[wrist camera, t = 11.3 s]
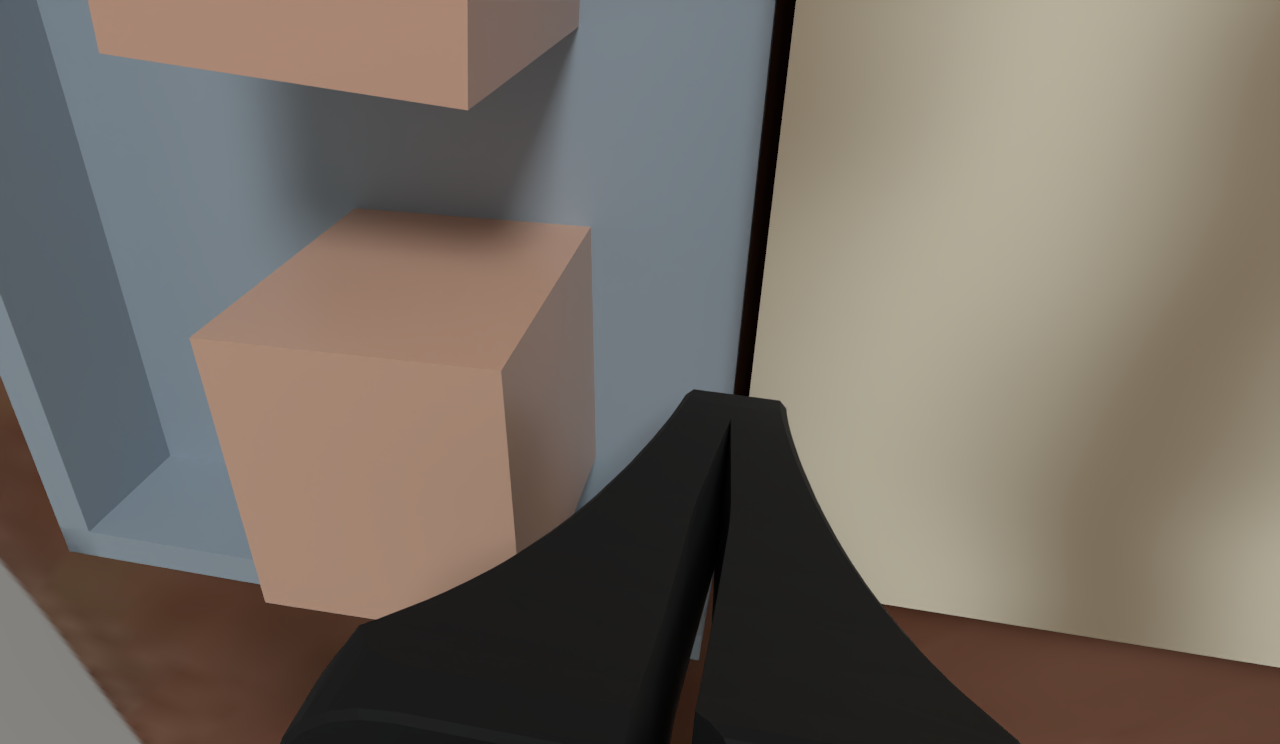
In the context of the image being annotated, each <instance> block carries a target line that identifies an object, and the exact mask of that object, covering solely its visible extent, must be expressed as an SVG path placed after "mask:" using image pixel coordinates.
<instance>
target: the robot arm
mask: <svg viewBox="0 0 1280 744" xmlns="http://www.w3.org/2000/svg"><path fill="white" fill-rule="evenodd" d="M714 568H715V571H714ZM713 572H714V592H713V613H712V628H711V633H710V639H709V644H708V650H707V655H706V660H705V665H704V670H703V675H702V681H701V686H700V691H699V696H698V701H697V706H696V711H695V719H694V729H693V738H692V744H1020V743H1019V741H1018V740H1017V739H1015V738H1014V737H1013V736H1012V735H1011V734H1010V733H1008V732H1007V731H1006V730H1005V729H1004V728H1003V727H1002V726H1000V725H999V724H998V723H997V722H996V721H995V720H993V719H992V718H991V717H990V716H989V715H988V714H986V713H985V712H984V711H983V710H982V709H981V708H979V707H978V706H977V705H976V704H975V703H974V702H972V701H971V700H970V699H969V698H968V697H967V696H966V695H964V694H963V693H962V692H961V691H960V690H959V689H958V688H957V687H955V686H954V685H953V684H952V683H951V682H950V681H949V680H948V679H947V678H946V677H945V676H944V675H943V674H942V673H941V672H940V671H939V670H938V669H937V668H936V667H935V666H934V665H933V664H932V663H931V662H930V661H929V660H928V659H927V658H926V657H925V656H924V655H923V653H922V652H921V651H920V650H919V649H918V648H917V646H916V645H915V644H914V643H913V642H912V641H911V639H910V638H909V637H908V636H907V635H906V634H905V633H904V631H903V630H902V629H901V628H900V627H899V626H898V624H897V623H896V622H895V621H894V620H893V619H892V617H891V616H890V615H889V614H888V613H887V611H886V610H885V609H884V607H883V606H882V605H881V603H880V602H879V601H878V599H877V598H876V597H875V595H874V594H873V593H872V591H871V590H870V588H869V587H868V586H867V584H866V583H865V581H864V580H863V578H862V577H861V576H860V574H859V573H858V571H857V570H856V568H855V567H854V565H853V564H852V562H851V561H850V559H849V557H848V556H847V554H846V552H845V551H844V549H843V547H842V546H841V544H840V542H839V541H838V539H837V537H836V535H835V534H834V532H833V530H832V528H831V526H830V524H829V522H828V521H827V519H826V517H825V515H824V513H823V511H822V509H821V507H820V505H819V503H818V501H817V499H816V497H815V494H814V492H813V490H812V488H811V485H810V483H809V481H808V478H807V476H806V474H805V472H804V469H803V467H802V464H801V461H800V459H799V456H798V453H797V450H796V447H795V444H794V441H793V438H792V435H791V431H790V427H789V423H788V418H787V409H786V407H785V406H784V405H783V404H782V403H781V401H780V400H772V399H764V398H757V397H749V396H742V395H734V394H726V393H719V392H711V391H703V390H696V389H693V390H692V391H690V392H689V393H687V394H686V395H685V396H684V398H683V399H682V401H681V403H680V404H679V405H678V407H677V408H676V410H675V411H674V412H673V414H672V415H671V416H670V418H669V419H668V420H667V422H666V423H665V424H664V425H663V426H662V428H661V429H660V430H659V431H658V432H657V434H656V435H655V436H654V437H653V438H652V439H651V441H650V442H649V443H648V444H647V445H646V446H645V447H644V448H643V449H642V450H641V451H640V453H639V454H638V455H637V456H636V457H635V458H634V459H633V460H632V461H631V462H630V463H629V464H628V465H627V466H626V467H625V468H624V469H623V470H622V471H621V472H620V473H619V474H618V475H617V476H616V477H615V478H614V479H613V480H612V481H611V482H610V483H608V484H607V485H606V486H605V487H604V488H603V489H602V490H601V491H600V492H599V493H598V494H597V495H596V496H595V497H593V498H592V499H591V500H590V501H589V502H588V503H586V504H585V505H584V506H583V507H582V508H580V509H579V510H578V511H577V512H575V513H574V514H573V515H572V516H570V517H569V518H568V519H566V520H565V521H564V522H562V523H561V524H560V525H558V526H557V527H556V528H554V529H553V530H552V531H550V532H549V533H548V534H546V535H545V536H543V537H542V538H540V539H539V540H537V541H536V542H534V543H533V544H531V545H530V546H528V547H526V548H525V549H523V550H522V551H520V552H519V553H517V554H516V555H514V556H513V557H511V558H509V559H508V560H506V561H504V562H503V563H501V564H499V565H498V566H496V567H494V568H492V569H490V570H488V571H486V572H484V573H482V574H481V575H479V576H477V577H475V578H473V579H471V580H469V581H467V582H465V583H463V584H460V585H458V586H456V587H454V588H452V589H450V590H448V591H446V592H444V593H441V594H439V595H437V596H434V597H432V598H430V599H428V600H425V601H423V602H420V603H417V604H415V605H412V606H410V607H407V608H405V609H402V610H399V611H397V612H394V613H392V614H389V615H386V616H384V617H381V618H379V619H376V620H373V621H370V622H368V623H365V624H362V625H360V626H359V627H358V628H357V629H356V630H355V632H354V633H353V634H352V636H351V637H350V638H349V640H348V641H347V642H346V644H345V645H344V646H343V647H342V648H341V650H340V651H339V652H338V653H337V654H336V656H335V657H334V658H333V660H332V661H331V662H330V664H329V665H328V666H327V668H326V669H325V670H324V672H323V673H322V674H321V676H320V677H319V679H318V680H317V682H316V684H315V685H314V687H313V689H312V690H311V692H310V693H309V695H308V697H307V698H306V700H305V702H304V703H303V705H302V706H301V708H300V710H299V711H298V713H297V715H296V716H295V718H294V720H293V721H292V723H291V724H290V726H289V728H288V729H287V731H286V733H285V734H284V736H283V738H282V740H281V743H280V744H670V739H671V733H672V728H673V723H674V719H675V714H676V710H677V705H678V701H679V697H680V693H681V689H682V686H683V682H684V678H685V675H686V671H687V668H688V664H689V660H690V657H691V653H692V649H693V646H694V642H695V638H696V635H697V631H698V627H699V624H700V620H701V617H702V613H703V609H704V605H705V602H706V598H707V594H708V591H709V587H710V583H711V580H712V576H713Z"/></svg>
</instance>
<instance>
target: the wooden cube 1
mask: <svg viewBox="0 0 1280 744" xmlns="http://www.w3.org/2000/svg"><path fill="white" fill-rule="evenodd" d="M88 4H89V8H90V13H91V18H92V22H93V27H94V32H95V36H96V41H97V46H98V50H99V53H100V54H107V55H113V56H120V57H126V58H132V59H139V60H145V61H152V62H158V63H165V64H171V65H178V66H184V67H191V68H197V69H204V70H210V71H216V72H223V73H229V74H236V75H242V76H249V77H255V78H262V79H268V80H275V81H281V82H288V83H294V84H301V85H307V86H313V87H320V88H326V89H333V90H339V91H346V92H352V93H359V94H365V95H372V96H378V97H385V98H391V99H398V100H404V101H410V102H417V103H423V104H430V105H436V106H443V107H449V108H456V109H462V110H469V109H471V108H472V107H473V106H475V105H476V104H477V103H478V102H480V101H481V100H482V99H484V98H485V97H486V96H488V95H489V94H490V93H492V92H493V91H494V90H496V89H497V88H498V87H500V86H501V85H502V84H504V83H505V82H506V81H507V80H509V79H510V78H511V77H513V76H514V75H515V74H517V73H518V72H519V71H521V70H522V69H523V68H525V67H526V66H527V65H529V64H530V63H531V62H533V61H534V60H535V59H537V58H538V57H539V56H540V55H542V54H543V53H544V52H546V51H547V50H548V49H550V48H551V47H552V46H554V45H555V44H556V43H558V42H559V41H560V40H562V39H563V38H564V37H566V36H567V35H568V34H569V33H571V32H572V31H573V30H575V29H576V28H577V27H578V26H579V9H580V0H88Z"/></svg>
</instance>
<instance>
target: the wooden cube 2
mask: <svg viewBox="0 0 1280 744" xmlns="http://www.w3.org/2000/svg"><path fill="white" fill-rule="evenodd" d="M190 342H191V345H192V349H193V352H194V356H195V359H196V363H197V366H198V370H199V373H200V377H201V380H202V384H203V387H204V391H205V394H206V398H207V401H208V404H209V408H210V411H211V415H212V418H213V422H214V425H215V429H216V432H217V436H218V439H219V443H220V446H221V450H222V453H223V457H224V460H225V464H226V467H227V471H228V474H229V477H230V481H231V484H232V488H233V491H234V495H235V498H236V502H237V505H238V509H239V512H240V516H241V519H242V523H243V526H244V530H245V533H246V537H247V540H248V543H249V547H250V550H251V554H252V557H253V561H254V564H255V568H256V571H257V575H258V578H259V582H260V585H261V589H262V592H263V596H264V599H265V602H266V603H272V604H279V605H285V606H292V607H298V608H305V609H311V610H318V611H324V612H331V613H337V614H344V615H350V616H357V617H363V618H370V619H379V618H381V617H384V616H386V615H389V614H392V613H394V612H397V611H399V610H402V609H405V608H407V607H410V606H412V605H415V604H417V603H420V602H423V601H425V600H428V599H430V598H432V597H434V596H437V595H439V594H441V593H444V592H446V591H448V590H450V589H452V588H454V587H456V586H458V585H460V584H463V583H465V582H467V581H469V580H471V579H473V578H475V577H477V576H479V575H481V574H482V573H484V572H486V571H488V570H490V569H492V568H494V567H496V566H498V565H499V564H501V563H503V562H504V561H506V560H508V559H509V558H511V557H513V556H514V555H516V554H517V553H519V552H520V551H522V550H523V549H525V548H526V547H528V546H530V545H531V544H533V543H534V542H536V541H537V540H539V539H540V538H542V537H543V536H545V535H546V534H548V533H549V532H550V531H552V530H553V529H554V528H556V527H557V526H558V525H560V524H561V523H562V522H564V521H565V520H566V519H568V518H569V517H570V516H572V515H573V514H574V512H575V510H576V507H577V504H578V502H579V499H580V497H581V494H582V491H583V489H584V486H585V484H586V481H587V479H588V476H589V473H590V471H591V468H592V466H593V463H594V460H595V458H596V433H595V389H594V345H593V300H592V256H591V227H586V226H574V225H561V224H548V223H536V222H523V221H510V220H498V219H485V218H472V217H460V216H447V215H434V214H422V213H409V212H396V211H384V210H371V209H358V208H354V209H353V210H352V211H351V212H349V213H348V214H347V215H345V216H344V217H343V218H342V219H340V220H339V221H338V222H337V223H335V224H334V225H333V226H331V227H330V228H329V229H328V230H326V231H325V232H324V233H322V234H321V235H320V236H319V237H317V238H316V239H315V240H314V241H312V242H311V243H310V244H308V245H307V246H306V247H305V248H303V249H302V250H301V251H299V252H298V253H297V254H296V255H294V256H293V257H292V258H291V259H289V260H288V261H287V262H285V263H284V264H283V265H282V266H280V267H279V268H278V269H276V270H275V271H274V272H273V273H271V274H270V275H269V276H268V277H266V278H265V279H264V280H262V281H261V282H260V283H259V284H257V285H256V286H255V287H253V288H252V289H251V290H250V291H248V292H247V293H246V294H245V295H243V296H242V297H241V298H239V299H238V300H237V301H236V302H234V303H233V304H232V305H231V306H229V307H228V308H227V309H225V310H224V311H223V312H222V313H220V314H219V315H218V316H216V317H215V318H214V319H213V320H211V321H210V322H209V323H208V324H206V325H205V326H204V327H202V328H201V329H200V330H199V331H197V332H196V333H195V334H193V335H192V336H191V337H190Z"/></svg>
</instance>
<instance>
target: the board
mask: <svg viewBox="0 0 1280 744" xmlns="http://www.w3.org/2000/svg"><path fill="white" fill-rule="evenodd" d="M749 397H757V398H764V399H772V400H780V401H781V403H782V404H783V405H784V406H785V407H786V409H787V418H788V423H789V427H790V431H791V435H792V438H793V441H794V444H795V447H796V450H797V453H798V456H799V459H800V461H801V464H802V467H803V469H804V472H805V474H806V476H807V478H808V481H809V483H810V485H811V488H812V490H813V492H814V494H815V497H816V499H817V501H818V503H819V505H820V507H821V509H822V511H823V513H824V515H825V517H826V519H827V521H828V522H829V524H830V526H831V528H832V530H833V532H834V534H835V535H836V537H837V539H838V541H839V542H840V544H841V546H842V547H843V549H844V551H845V552H846V554H847V556H848V557H849V559H850V561H851V562H852V564H853V565H854V567H855V568H856V570H857V571H858V573H859V574H860V576H861V577H862V578H863V580H864V581H865V583H866V584H867V586H868V587H869V588H870V590H871V591H872V593H873V594H874V595H875V597H876V598H877V599H878V601H879V602H880V603H881V604H886V605H892V606H899V607H905V608H911V609H917V610H924V611H930V612H936V613H942V614H949V615H955V616H961V617H967V618H974V619H980V620H986V621H992V622H998V623H1005V624H1011V625H1017V626H1023V627H1030V628H1036V629H1042V630H1048V631H1055V632H1061V633H1067V634H1073V635H1080V636H1086V637H1092V638H1098V639H1105V640H1111V641H1117V642H1123V643H1130V644H1136V645H1142V646H1148V647H1155V648H1161V649H1167V650H1173V651H1180V652H1186V653H1192V654H1198V655H1205V656H1211V657H1217V658H1223V659H1230V660H1236V661H1242V662H1248V663H1255V664H1261V665H1267V666H1273V667H1280V0H796V5H795V14H794V22H793V30H792V39H791V47H790V56H789V64H788V73H787V81H786V89H785V98H784V106H783V115H782V123H781V132H780V140H779V148H778V157H777V165H776V174H775V182H774V191H773V199H772V207H771V216H770V224H769V233H768V241H767V250H766V258H765V266H764V275H763V283H762V292H761V300H760V309H759V317H758V325H757V334H756V342H755V351H754V359H753V368H752V376H751V384H750V393H749Z"/></svg>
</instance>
